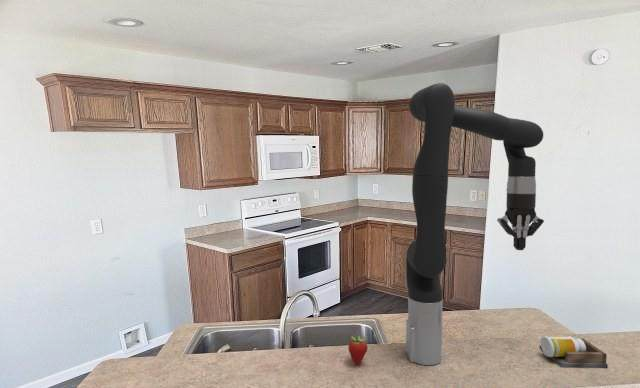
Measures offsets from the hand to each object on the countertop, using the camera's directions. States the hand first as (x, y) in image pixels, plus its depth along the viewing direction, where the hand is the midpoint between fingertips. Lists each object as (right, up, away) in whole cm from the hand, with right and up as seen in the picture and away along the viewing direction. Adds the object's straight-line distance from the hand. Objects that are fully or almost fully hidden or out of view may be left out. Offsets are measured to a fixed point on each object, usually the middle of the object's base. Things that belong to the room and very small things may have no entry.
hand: (519, 249), depth 106 cm
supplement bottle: (+3, -26, -8) cm, 27 cm away
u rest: (+11, -29, -7) cm, 32 cm away
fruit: (-49, -30, -9) cm, 58 cm away
